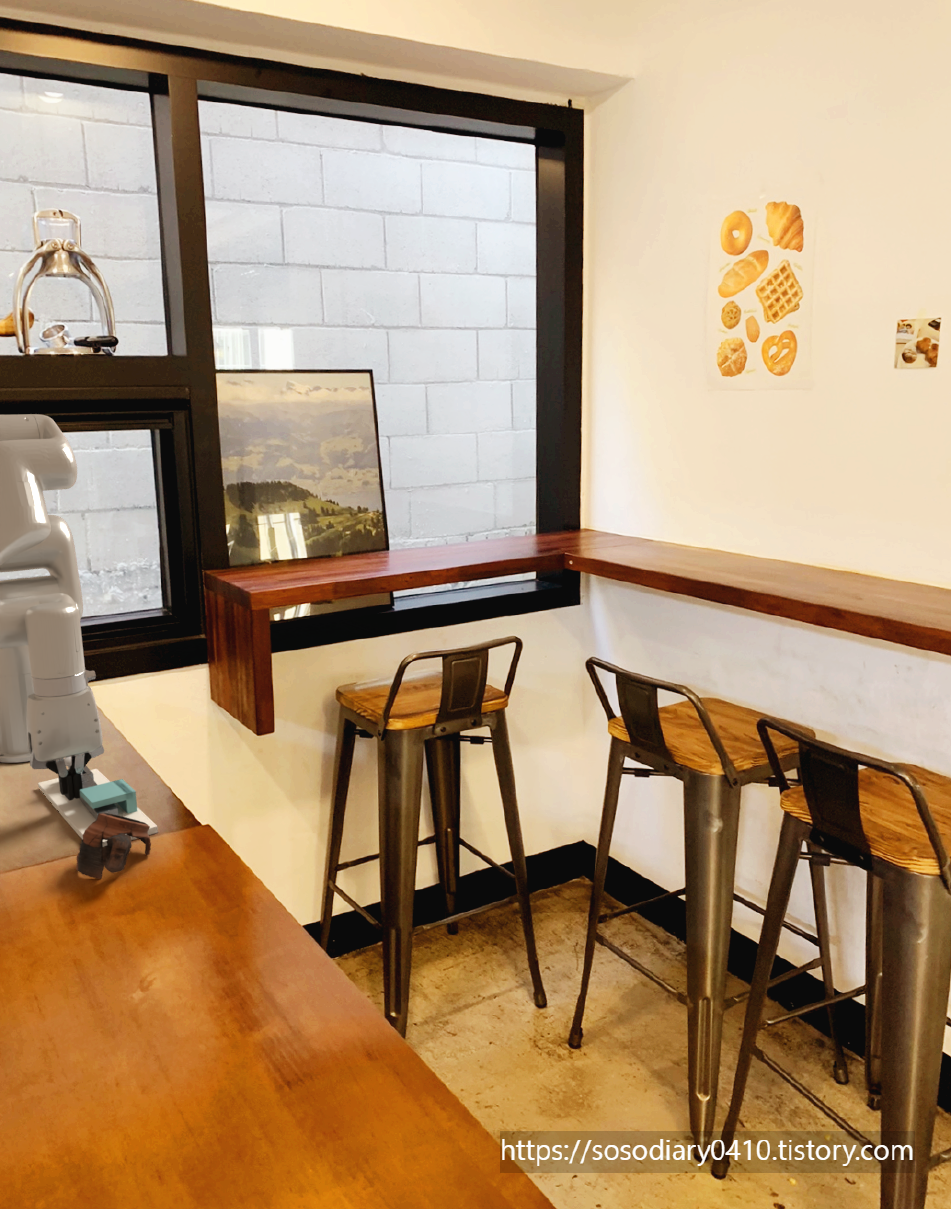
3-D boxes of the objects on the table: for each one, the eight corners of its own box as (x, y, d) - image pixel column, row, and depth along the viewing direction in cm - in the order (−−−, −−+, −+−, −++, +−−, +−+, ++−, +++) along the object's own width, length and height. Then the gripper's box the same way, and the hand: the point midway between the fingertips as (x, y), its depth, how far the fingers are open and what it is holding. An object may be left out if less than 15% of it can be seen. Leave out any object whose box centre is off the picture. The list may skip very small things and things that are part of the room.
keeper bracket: (81, 809, 147) (79, 789, 146) (124, 798, 151) (122, 778, 150) (94, 823, 142) (92, 802, 141) (137, 811, 146) (135, 791, 145)
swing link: (58, 779, 157) (58, 771, 157) (86, 773, 159) (85, 765, 159) (93, 824, 141) (92, 814, 141) (123, 816, 144) (122, 807, 143)
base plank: (38, 788, 157) (35, 758, 156) (97, 773, 163) (94, 745, 161) (92, 851, 136) (89, 817, 134) (158, 832, 141) (155, 799, 140)
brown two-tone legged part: (64, 865, 133) (85, 806, 135) (130, 878, 138) (149, 821, 139) (81, 879, 123) (103, 816, 125) (152, 893, 127) (172, 832, 129)
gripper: (102, 669, 152) (113, 777, 155) (0, 687, 143) (14, 801, 147) (117, 680, 146) (128, 791, 150) (12, 699, 137) (26, 817, 141)
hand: (72, 796), depth 148 cm, fingers closed
